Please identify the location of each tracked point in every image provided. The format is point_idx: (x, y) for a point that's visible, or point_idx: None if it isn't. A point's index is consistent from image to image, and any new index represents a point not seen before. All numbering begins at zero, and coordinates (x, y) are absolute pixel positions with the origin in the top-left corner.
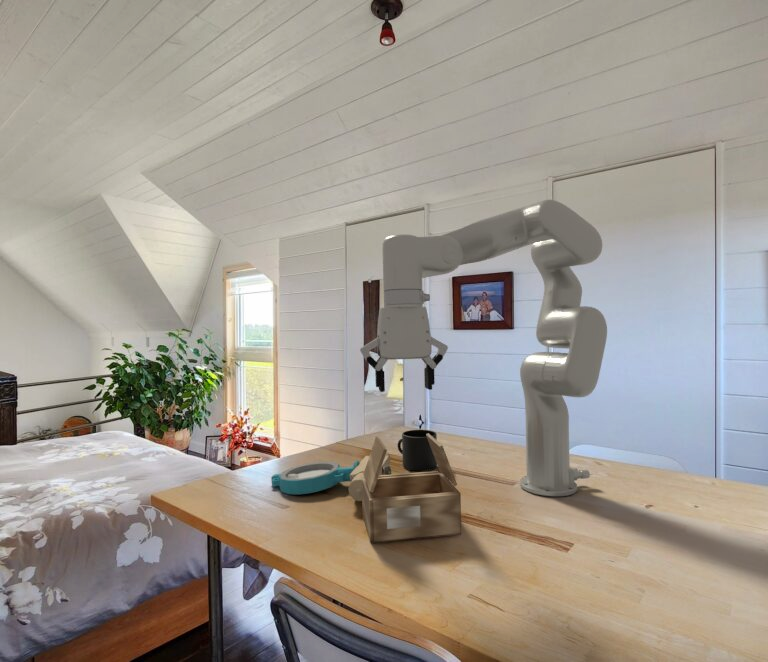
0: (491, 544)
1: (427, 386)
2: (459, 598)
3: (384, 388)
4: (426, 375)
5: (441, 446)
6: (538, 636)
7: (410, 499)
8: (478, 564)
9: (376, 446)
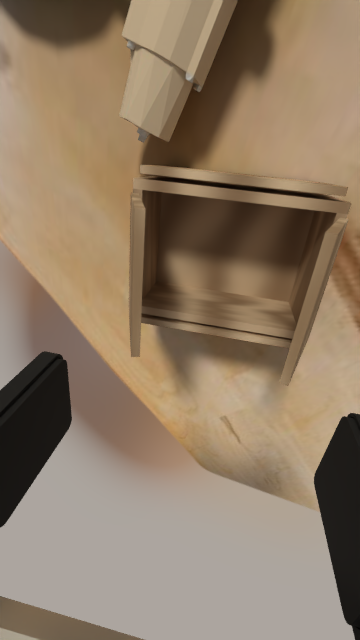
0: (315, 348)
1: (323, 475)
2: (211, 417)
3: (63, 433)
4: (350, 538)
5: (284, 383)
6: (246, 470)
7: (201, 331)
8: (265, 380)
9: (132, 261)
